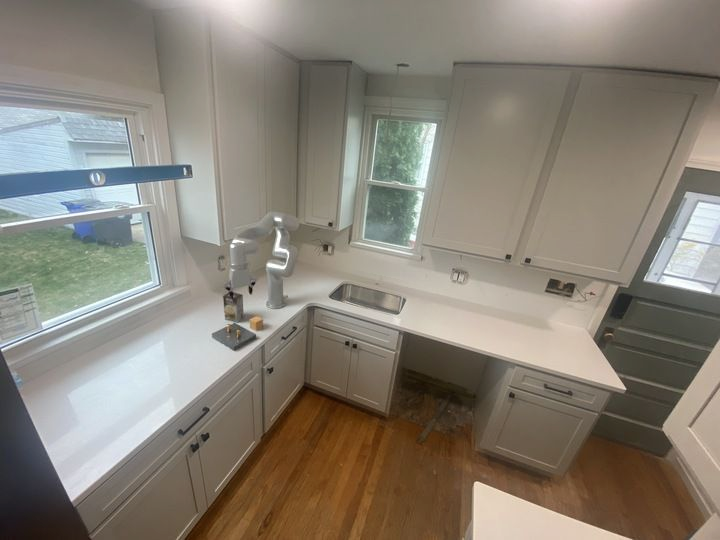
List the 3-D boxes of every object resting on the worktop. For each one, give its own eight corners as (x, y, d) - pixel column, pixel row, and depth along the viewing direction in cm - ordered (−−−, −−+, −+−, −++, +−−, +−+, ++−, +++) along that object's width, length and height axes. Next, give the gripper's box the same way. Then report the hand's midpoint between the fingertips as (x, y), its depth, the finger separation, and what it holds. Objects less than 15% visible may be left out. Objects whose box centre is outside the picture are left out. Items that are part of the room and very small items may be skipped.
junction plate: (234, 326, 167) (234, 316, 165) (256, 338, 159) (255, 328, 156) (212, 337, 156) (210, 327, 153) (233, 350, 147) (232, 340, 145)
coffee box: (224, 319, 172) (222, 295, 167) (231, 314, 178) (229, 291, 172) (237, 323, 170) (235, 298, 164) (244, 317, 176) (243, 294, 170)
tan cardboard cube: (257, 324, 171) (256, 316, 169) (263, 327, 169) (262, 319, 167) (250, 327, 167) (249, 319, 165) (256, 330, 165) (255, 322, 163)
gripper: (253, 261, 158) (254, 289, 165) (219, 266, 148) (222, 295, 154) (258, 265, 153) (259, 294, 159) (223, 271, 143) (226, 301, 149)
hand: (241, 295), depth 157 cm, fingers open, 9 cm apart
